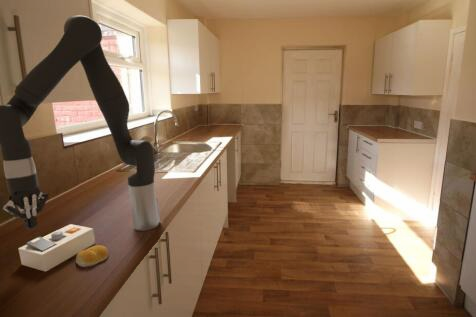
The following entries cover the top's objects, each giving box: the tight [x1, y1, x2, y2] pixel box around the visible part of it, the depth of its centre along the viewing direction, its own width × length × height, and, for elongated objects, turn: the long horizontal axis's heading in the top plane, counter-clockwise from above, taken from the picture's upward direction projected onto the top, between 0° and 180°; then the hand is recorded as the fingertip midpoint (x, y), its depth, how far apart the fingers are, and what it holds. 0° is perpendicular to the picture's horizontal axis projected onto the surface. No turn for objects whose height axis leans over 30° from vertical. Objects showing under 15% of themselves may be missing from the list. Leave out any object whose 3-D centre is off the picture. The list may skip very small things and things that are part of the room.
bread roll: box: [75, 244, 109, 268], centre depth 96 cm, size 8×9×4 cm
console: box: [17, 223, 96, 272], centre depth 100 cm, size 18×11×6 cm, turn 156°
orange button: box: [67, 228, 78, 234], centre depth 105 cm, size 3×3×2 cm
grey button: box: [51, 231, 64, 242], centre depth 100 cm, size 3×3×2 cm
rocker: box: [26, 236, 55, 252], centre depth 95 cm, size 4×7×1 cm, turn 66°
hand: (31, 228), depth 94 cm, fingers closed
